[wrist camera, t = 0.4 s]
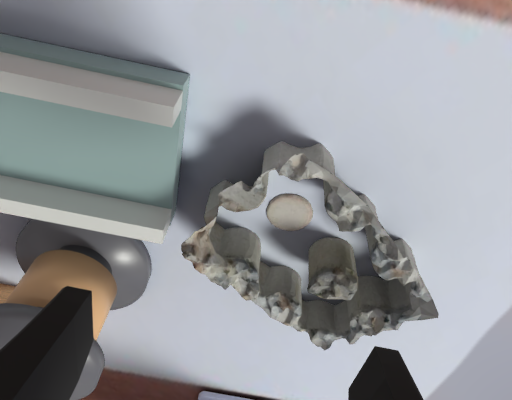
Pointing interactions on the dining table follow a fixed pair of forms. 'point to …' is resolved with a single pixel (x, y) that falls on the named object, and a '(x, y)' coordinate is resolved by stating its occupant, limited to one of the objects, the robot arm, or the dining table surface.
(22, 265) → the spool
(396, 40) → the dining table surface
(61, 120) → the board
